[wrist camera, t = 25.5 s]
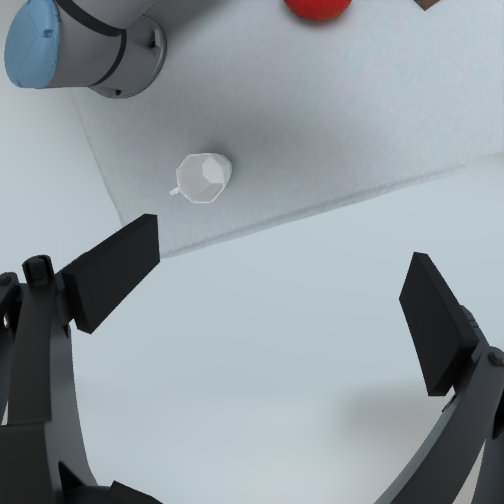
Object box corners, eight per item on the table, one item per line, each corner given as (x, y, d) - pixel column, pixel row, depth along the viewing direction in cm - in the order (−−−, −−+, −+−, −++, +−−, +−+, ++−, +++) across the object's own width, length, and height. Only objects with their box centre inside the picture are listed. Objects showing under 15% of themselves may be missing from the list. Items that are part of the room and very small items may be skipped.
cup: (248, 179, 45) (235, 192, 37) (193, 204, 48) (172, 221, 41) (228, 137, 42) (210, 142, 35) (174, 165, 46) (149, 176, 39)
